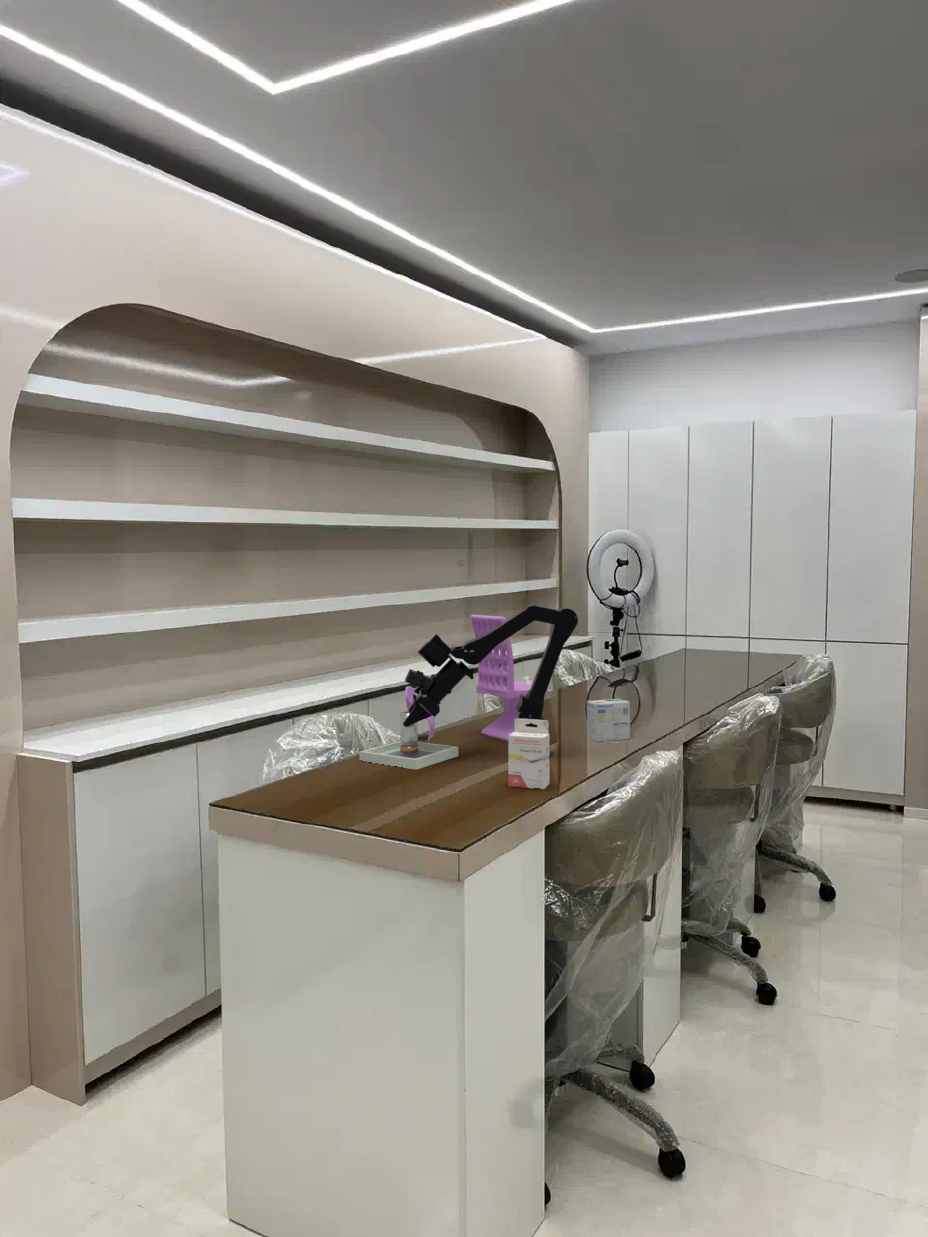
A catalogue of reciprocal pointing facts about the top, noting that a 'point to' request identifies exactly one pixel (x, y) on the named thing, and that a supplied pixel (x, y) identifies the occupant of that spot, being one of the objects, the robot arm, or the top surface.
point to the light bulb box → (608, 720)
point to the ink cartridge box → (529, 754)
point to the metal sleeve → (408, 735)
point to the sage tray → (409, 755)
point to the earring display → (499, 678)
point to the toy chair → (409, 702)
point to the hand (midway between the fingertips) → (403, 724)
